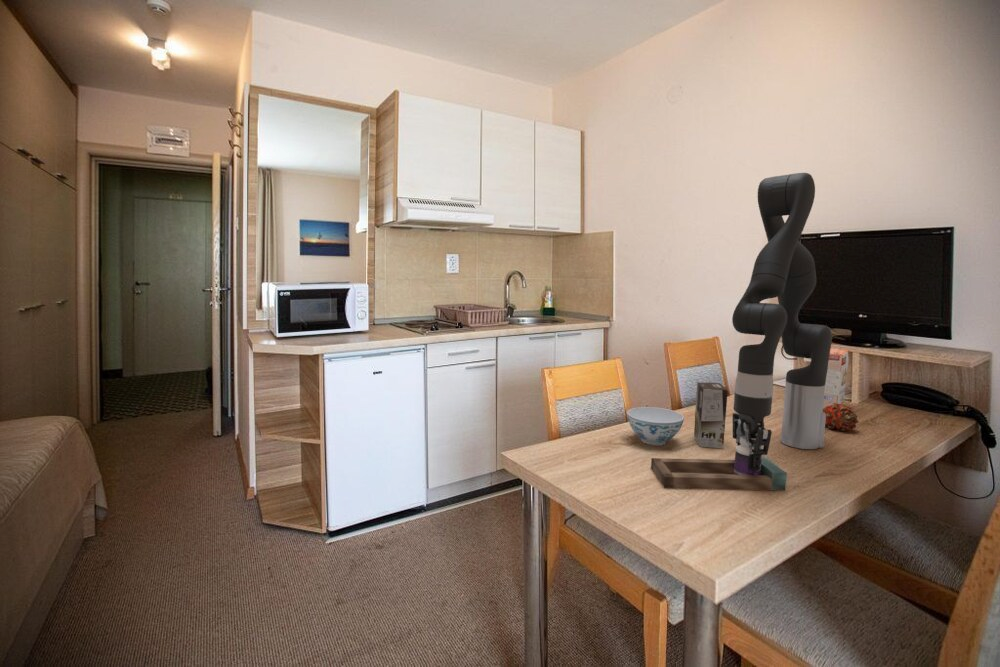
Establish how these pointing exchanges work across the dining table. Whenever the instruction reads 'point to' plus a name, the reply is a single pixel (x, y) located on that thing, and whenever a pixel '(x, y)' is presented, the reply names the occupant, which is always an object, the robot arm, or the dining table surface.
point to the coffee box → (710, 414)
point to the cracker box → (836, 377)
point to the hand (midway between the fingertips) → (747, 464)
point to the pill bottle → (743, 459)
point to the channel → (767, 479)
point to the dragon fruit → (840, 417)
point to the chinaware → (655, 424)
